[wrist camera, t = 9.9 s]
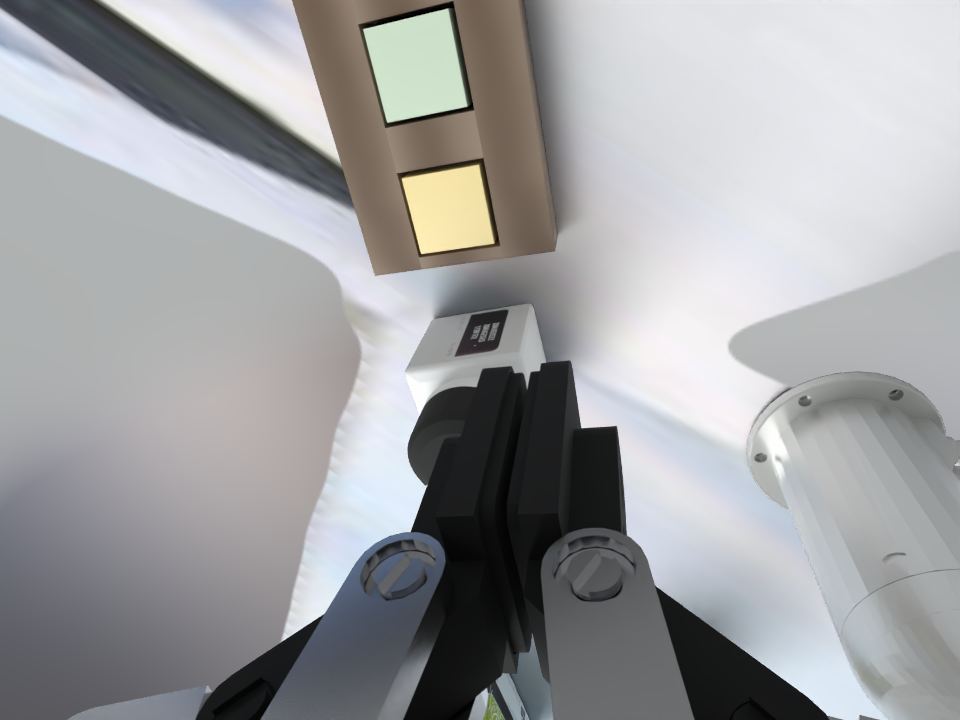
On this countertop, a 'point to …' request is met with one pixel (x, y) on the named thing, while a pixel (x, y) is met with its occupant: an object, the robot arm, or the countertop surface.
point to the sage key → (419, 65)
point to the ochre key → (451, 206)
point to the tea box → (504, 701)
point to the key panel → (435, 128)
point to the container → (464, 371)
